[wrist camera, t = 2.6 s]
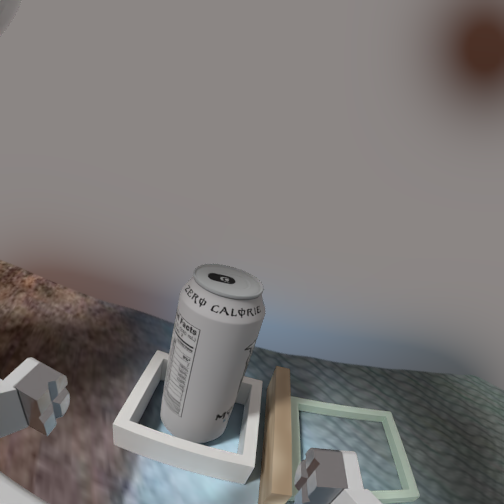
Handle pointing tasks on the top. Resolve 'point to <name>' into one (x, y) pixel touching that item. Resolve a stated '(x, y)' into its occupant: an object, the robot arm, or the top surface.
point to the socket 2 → (394, 440)
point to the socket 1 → (182, 450)
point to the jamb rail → (277, 441)
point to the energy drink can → (210, 350)
